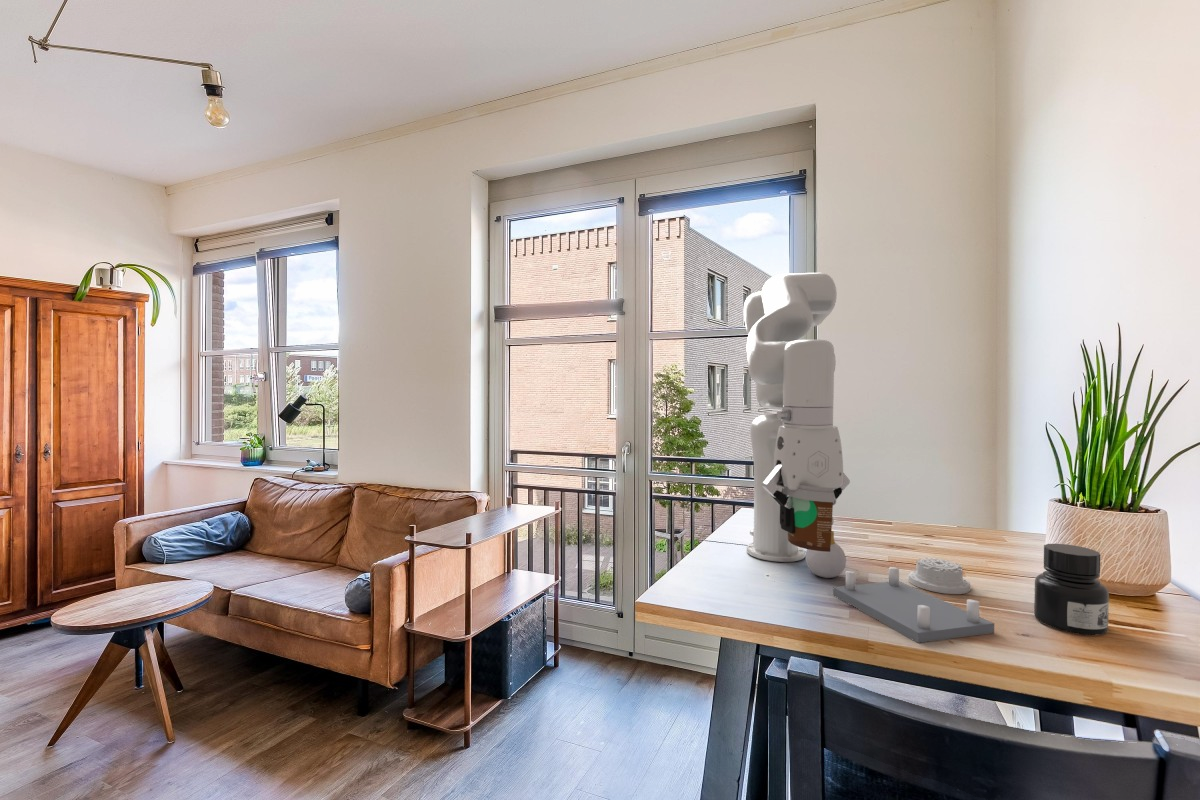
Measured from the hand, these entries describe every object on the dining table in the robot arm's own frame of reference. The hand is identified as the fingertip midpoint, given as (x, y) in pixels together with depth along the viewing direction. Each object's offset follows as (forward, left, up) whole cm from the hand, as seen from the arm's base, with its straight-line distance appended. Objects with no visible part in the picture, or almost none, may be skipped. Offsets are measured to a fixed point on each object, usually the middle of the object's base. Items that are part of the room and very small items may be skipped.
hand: (805, 528), depth 88 cm
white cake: (-8, +34, -15) cm, 38 cm away
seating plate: (+2, +18, -15) cm, 24 cm away
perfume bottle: (-18, +17, -15) cm, 29 cm away
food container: (0, -1, -2) cm, 2 cm away
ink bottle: (+12, +40, -15) cm, 44 cm away
